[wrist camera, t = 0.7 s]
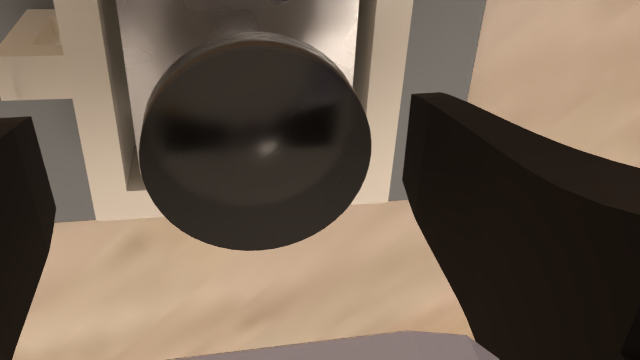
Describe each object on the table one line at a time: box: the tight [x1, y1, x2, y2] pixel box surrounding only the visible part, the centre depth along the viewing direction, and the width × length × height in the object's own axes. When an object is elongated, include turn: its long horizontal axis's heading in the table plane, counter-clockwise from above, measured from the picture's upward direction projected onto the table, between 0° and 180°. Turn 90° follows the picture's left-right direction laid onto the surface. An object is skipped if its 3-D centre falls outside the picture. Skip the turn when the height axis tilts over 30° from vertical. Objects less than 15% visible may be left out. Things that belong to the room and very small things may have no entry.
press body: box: [0, 0, 413, 221], centre depth 18 cm, size 11×9×5 cm
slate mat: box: [0, 0, 486, 223], centre depth 20 cm, size 18×16×1 cm
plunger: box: [116, 0, 372, 251], centre depth 15 cm, size 6×6×6 cm
